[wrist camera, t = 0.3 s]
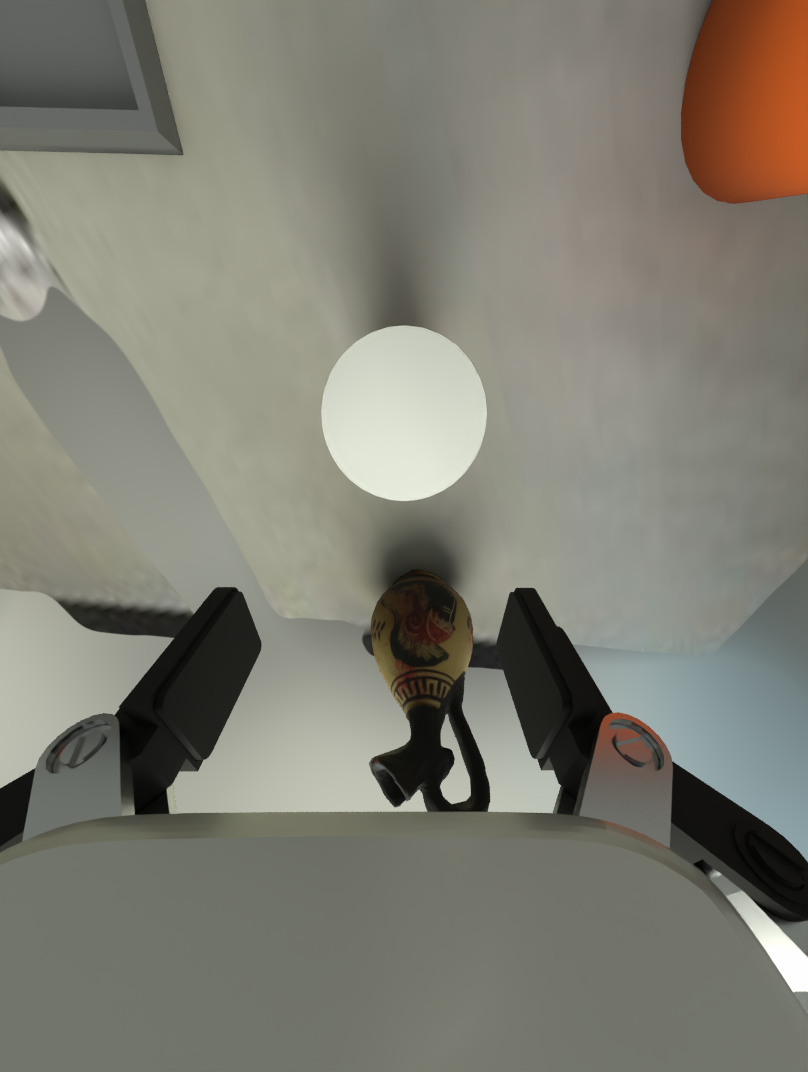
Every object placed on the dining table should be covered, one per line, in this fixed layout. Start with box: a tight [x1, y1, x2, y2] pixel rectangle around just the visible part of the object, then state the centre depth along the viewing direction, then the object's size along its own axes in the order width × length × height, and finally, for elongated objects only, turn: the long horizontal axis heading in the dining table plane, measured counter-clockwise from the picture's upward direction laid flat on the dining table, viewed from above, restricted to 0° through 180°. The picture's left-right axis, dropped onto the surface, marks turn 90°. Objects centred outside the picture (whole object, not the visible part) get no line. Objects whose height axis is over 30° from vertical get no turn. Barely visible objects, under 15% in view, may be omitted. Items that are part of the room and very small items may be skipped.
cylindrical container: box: [321, 325, 487, 501], centre depth 23 cm, size 7×7×25 cm
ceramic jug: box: [369, 570, 490, 812], centre depth 39 cm, size 17×15×30 cm
